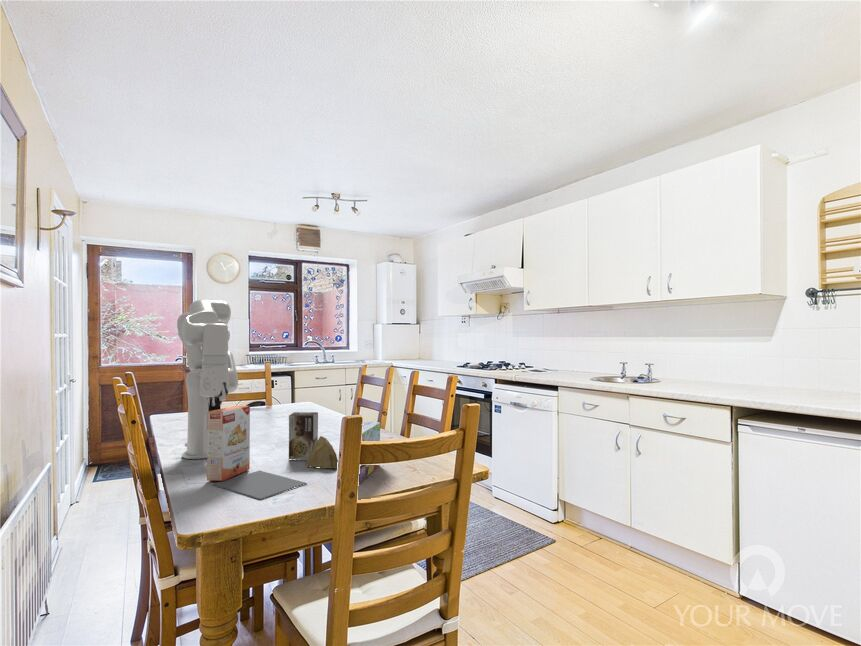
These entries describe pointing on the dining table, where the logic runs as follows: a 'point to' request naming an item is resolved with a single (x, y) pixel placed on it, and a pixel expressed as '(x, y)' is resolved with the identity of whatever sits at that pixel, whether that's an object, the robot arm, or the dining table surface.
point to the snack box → (369, 434)
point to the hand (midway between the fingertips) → (214, 417)
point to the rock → (322, 455)
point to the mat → (259, 484)
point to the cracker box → (228, 442)
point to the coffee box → (302, 434)
